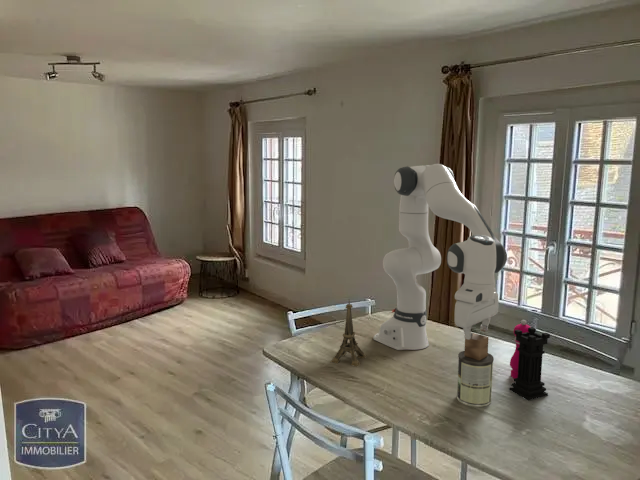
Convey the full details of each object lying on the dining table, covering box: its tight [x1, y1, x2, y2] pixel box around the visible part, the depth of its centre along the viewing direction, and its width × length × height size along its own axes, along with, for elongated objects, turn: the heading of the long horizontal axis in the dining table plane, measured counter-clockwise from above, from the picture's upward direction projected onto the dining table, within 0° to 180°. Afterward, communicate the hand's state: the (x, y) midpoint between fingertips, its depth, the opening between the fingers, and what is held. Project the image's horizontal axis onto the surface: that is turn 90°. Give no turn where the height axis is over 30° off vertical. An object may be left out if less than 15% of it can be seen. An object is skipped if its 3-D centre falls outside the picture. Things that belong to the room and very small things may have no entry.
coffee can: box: [456, 350, 495, 408], centre depth 159 cm, size 10×10×14 cm
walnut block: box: [463, 332, 489, 360], centre depth 158 cm, size 5×5×6 cm
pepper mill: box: [509, 319, 531, 380], centre depth 175 cm, size 7×7×20 cm
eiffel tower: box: [330, 300, 368, 367], centre depth 190 cm, size 11×11×25 cm
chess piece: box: [508, 326, 551, 402], centre depth 163 cm, size 8×8×20 cm
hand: (476, 334), depth 157 cm, fingers open, 8 cm apart
